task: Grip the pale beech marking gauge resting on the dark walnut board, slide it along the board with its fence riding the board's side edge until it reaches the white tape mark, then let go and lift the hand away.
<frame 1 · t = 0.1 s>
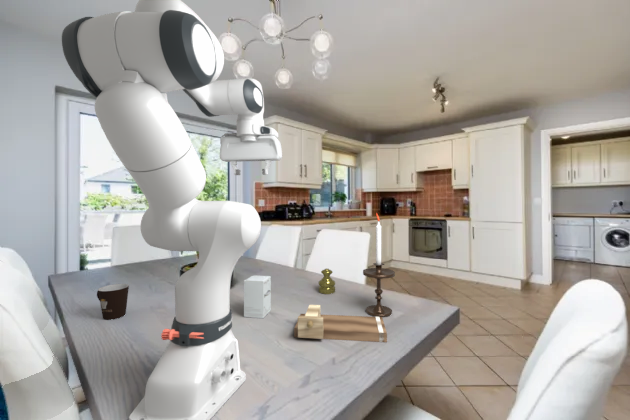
hand: (251, 174, 91), 48 cm above the table, tool pointing down, fingers open, 8 cm apart
board: (340, 330, 83), on the table
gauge: (312, 332, 82), touching board
candlestick: (378, 312, 98), on the table
gold metal tiered piece: (326, 292, 121), on the table
coffee mug: (113, 315, 97), on the table
supplement box: (257, 314, 97), on the table
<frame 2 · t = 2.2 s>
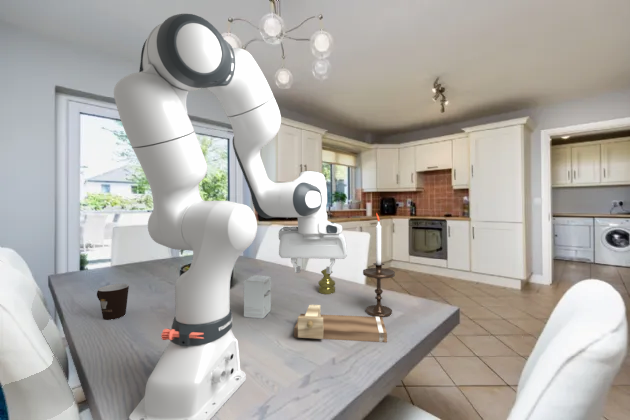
hand: (313, 272, 83), 18 cm above the table, tool pointing down, fingers open, 8 cm apart
nothing on the table moved.
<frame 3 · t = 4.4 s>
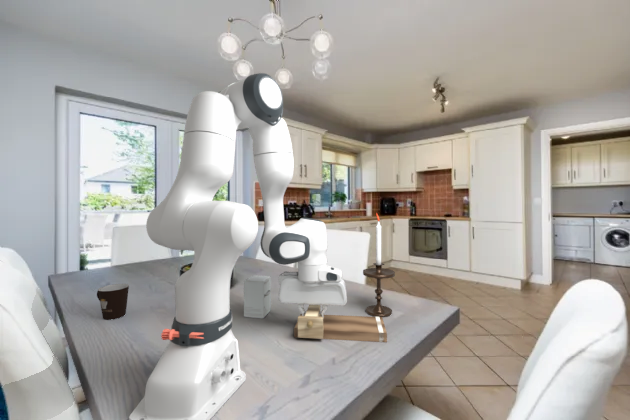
hand: (313, 318, 83), 4 cm above the table, tool pointing down, fingers closed on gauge, 3 cm apart
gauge: (312, 332, 82), touching board, gripper
everything else where it was.
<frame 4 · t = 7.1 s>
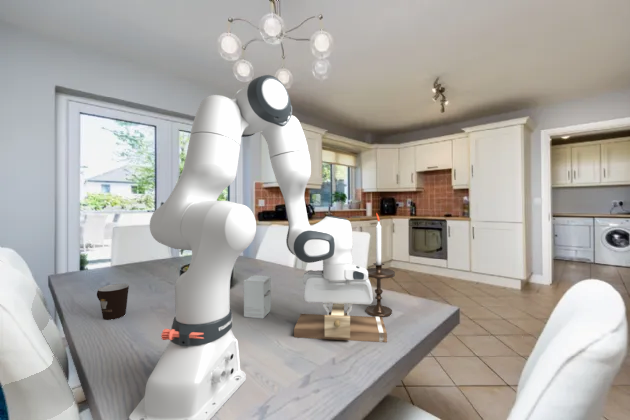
hand: (338, 317, 82), 5 cm above the table, tool pointing down, fingers closed on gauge, 3 cm apart
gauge: (338, 331, 82), point 1 cm above the table, touching gripper
everything else where it was.
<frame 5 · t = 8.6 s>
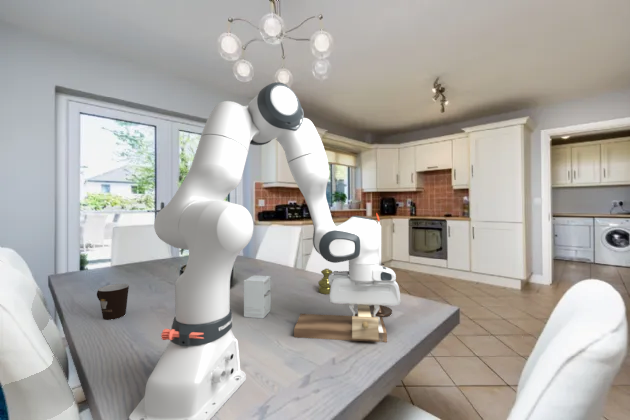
hand: (364, 318, 81), 5 cm above the table, tool pointing down, fingers closed on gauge, 3 cm apart
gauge: (364, 333, 81), touching gripper
everything else where it was.
when the fingers open (4 cm above the table, at t = 10.1 s): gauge stays where it is, resting on board.
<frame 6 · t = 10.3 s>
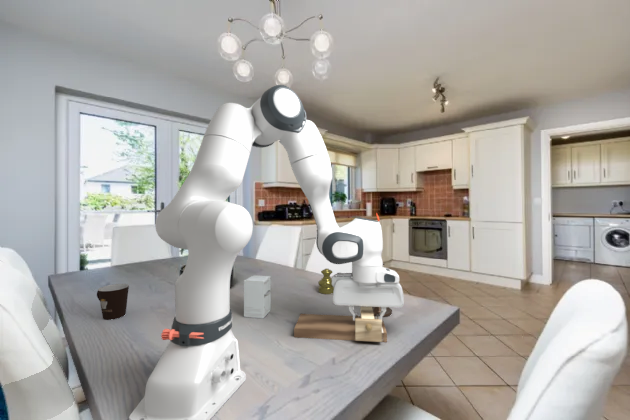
hand: (367, 320, 81), 4 cm above the table, tool pointing down, fingers open, 5 cm apart
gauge: (367, 335, 81), resting on board
everything else where it was.
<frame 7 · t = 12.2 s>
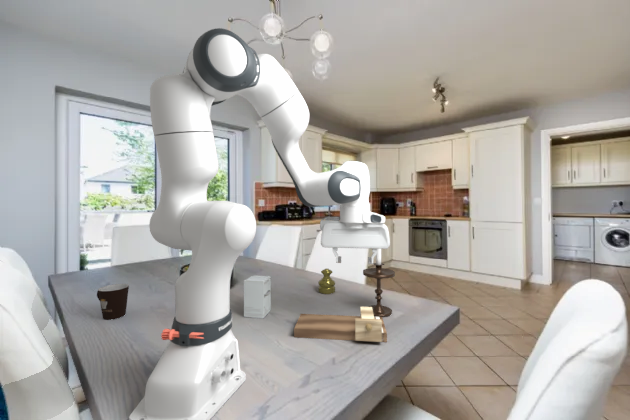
hand: (354, 263, 83), 21 cm above the table, tool pointing down, fingers open, 8 cm apart
nothing on the table moved.
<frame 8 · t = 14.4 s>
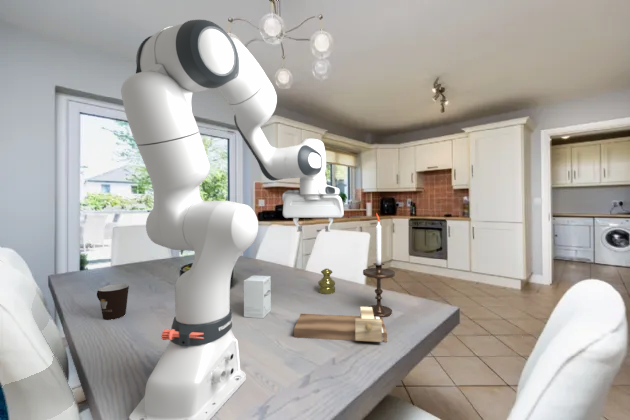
hand: (313, 231, 92), 29 cm above the table, tool pointing down, fingers open, 8 cm apart
nothing on the table moved.
at the end: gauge tilted 0°; the gripper is holding nothing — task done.
